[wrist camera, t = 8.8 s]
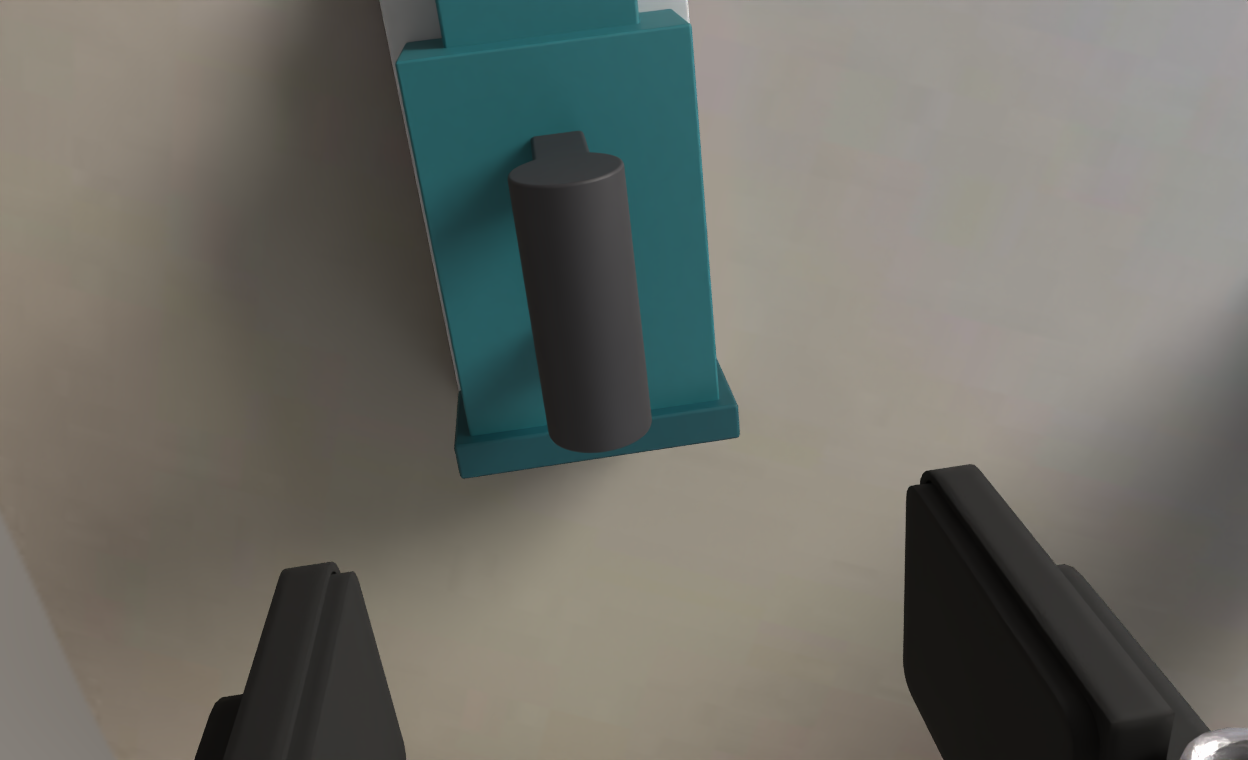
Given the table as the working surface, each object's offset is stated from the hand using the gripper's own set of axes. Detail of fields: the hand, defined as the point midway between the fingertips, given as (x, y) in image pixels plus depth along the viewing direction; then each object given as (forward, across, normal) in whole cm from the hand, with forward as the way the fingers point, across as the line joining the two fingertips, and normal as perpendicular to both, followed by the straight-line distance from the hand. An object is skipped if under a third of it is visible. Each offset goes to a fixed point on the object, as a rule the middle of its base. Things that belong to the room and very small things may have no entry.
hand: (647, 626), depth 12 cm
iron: (+17, 0, -1) cm, 17 cm away
